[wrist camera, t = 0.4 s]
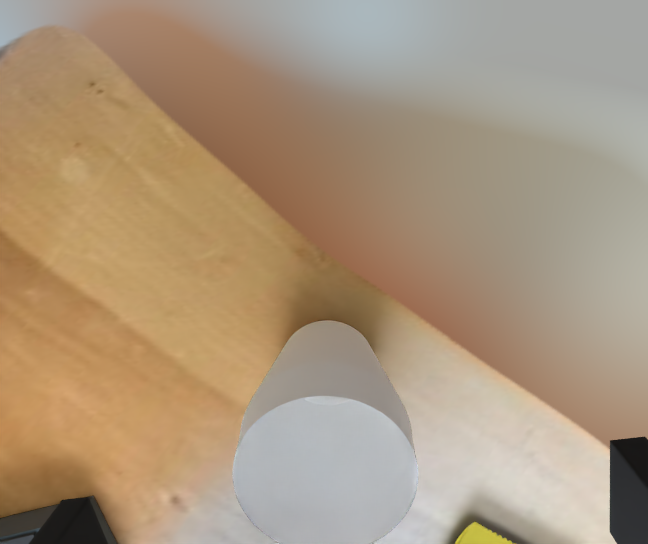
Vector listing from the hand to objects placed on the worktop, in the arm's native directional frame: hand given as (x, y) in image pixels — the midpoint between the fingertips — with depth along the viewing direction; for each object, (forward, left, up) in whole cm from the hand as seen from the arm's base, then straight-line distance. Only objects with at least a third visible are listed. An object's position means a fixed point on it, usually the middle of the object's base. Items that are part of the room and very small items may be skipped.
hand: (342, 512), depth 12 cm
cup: (+6, -2, -21) cm, 22 cm away
